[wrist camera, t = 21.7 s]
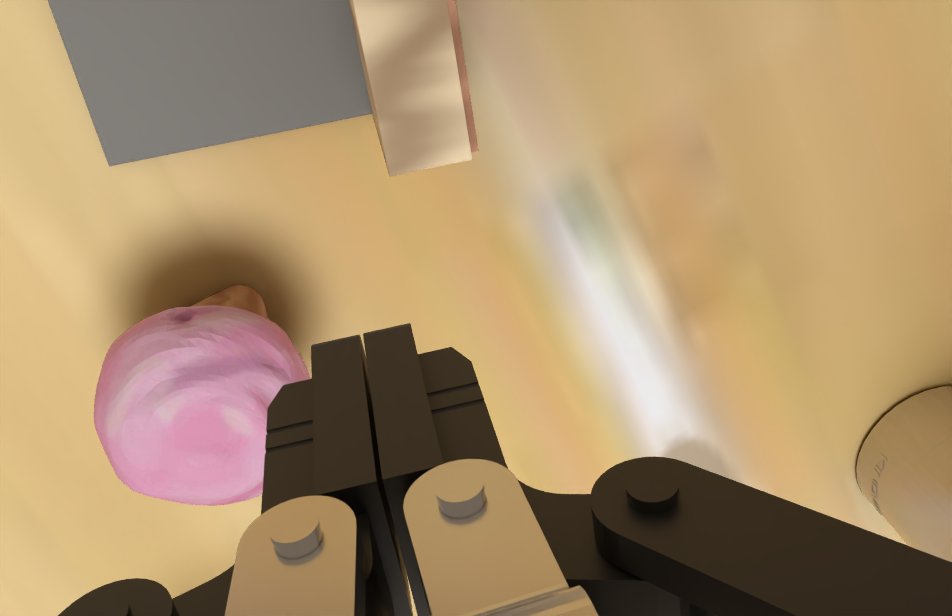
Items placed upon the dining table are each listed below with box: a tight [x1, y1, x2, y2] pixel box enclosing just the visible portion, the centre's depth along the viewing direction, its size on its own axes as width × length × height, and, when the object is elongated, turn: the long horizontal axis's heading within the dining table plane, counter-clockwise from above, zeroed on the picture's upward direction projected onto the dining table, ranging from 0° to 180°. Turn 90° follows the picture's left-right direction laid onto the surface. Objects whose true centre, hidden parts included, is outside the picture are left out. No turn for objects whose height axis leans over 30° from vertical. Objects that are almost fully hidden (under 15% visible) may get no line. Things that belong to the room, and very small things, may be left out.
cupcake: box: [94, 285, 310, 506], centre depth 38 cm, size 9×9×10 cm
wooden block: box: [348, 0, 479, 176], centre depth 32 cm, size 3×8×10 cm
